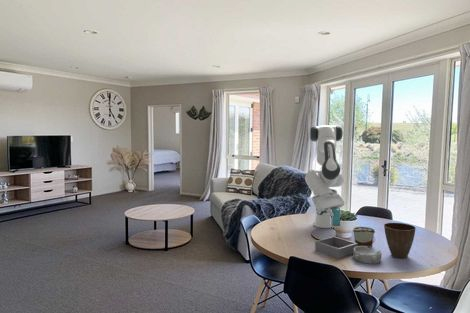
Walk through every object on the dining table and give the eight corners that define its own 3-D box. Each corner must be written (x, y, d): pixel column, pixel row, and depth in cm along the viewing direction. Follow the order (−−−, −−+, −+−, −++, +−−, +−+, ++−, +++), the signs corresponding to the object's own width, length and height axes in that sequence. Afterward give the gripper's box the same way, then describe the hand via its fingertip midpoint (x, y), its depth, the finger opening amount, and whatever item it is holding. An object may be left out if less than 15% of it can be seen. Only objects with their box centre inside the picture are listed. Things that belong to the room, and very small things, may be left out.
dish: (358, 252, 180) (358, 243, 180) (384, 258, 171) (385, 249, 171) (348, 260, 169) (348, 251, 169) (376, 267, 160) (376, 257, 160)
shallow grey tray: (333, 244, 194) (333, 236, 193) (357, 252, 181) (357, 243, 180) (315, 250, 185) (315, 241, 184) (338, 258, 172) (338, 249, 171)
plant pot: (378, 255, 175) (379, 226, 174) (389, 248, 185) (390, 220, 184) (409, 263, 164) (410, 232, 163) (418, 255, 175) (419, 226, 173)
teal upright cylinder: (335, 223, 185) (335, 207, 184) (341, 225, 181) (342, 209, 181) (330, 225, 182) (330, 209, 182) (336, 226, 179) (336, 210, 178)
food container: (371, 243, 195) (371, 226, 195) (374, 246, 189) (375, 229, 188) (350, 242, 196) (350, 226, 196) (352, 246, 190) (352, 229, 190)
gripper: (313, 193, 180) (327, 214, 173) (338, 189, 192) (352, 209, 184) (307, 200, 184) (321, 221, 177) (331, 196, 196) (345, 215, 188)
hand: (337, 215), depth 181 cm, fingers closed on teal upright cylinder, 4 cm apart
